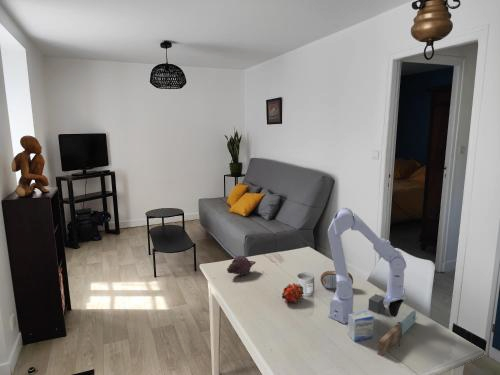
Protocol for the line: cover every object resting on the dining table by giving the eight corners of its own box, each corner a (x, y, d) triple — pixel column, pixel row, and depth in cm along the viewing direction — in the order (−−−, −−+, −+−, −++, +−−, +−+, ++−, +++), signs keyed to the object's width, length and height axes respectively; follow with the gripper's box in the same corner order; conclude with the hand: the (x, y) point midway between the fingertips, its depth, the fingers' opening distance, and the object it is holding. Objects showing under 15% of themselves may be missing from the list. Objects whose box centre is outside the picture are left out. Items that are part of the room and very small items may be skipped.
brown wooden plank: (382, 356, 115) (382, 342, 114) (377, 354, 117) (378, 340, 116) (402, 336, 126) (403, 323, 125) (397, 334, 127) (398, 321, 126)
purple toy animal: (232, 282, 171) (232, 263, 169) (221, 276, 179) (220, 258, 177) (259, 272, 182) (259, 254, 180) (248, 267, 190) (247, 249, 188)
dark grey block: (377, 313, 141) (377, 302, 140) (368, 310, 144) (368, 299, 143) (384, 308, 145) (384, 297, 144) (375, 304, 148) (375, 294, 147)
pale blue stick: (404, 336, 126) (405, 324, 125) (399, 333, 127) (400, 322, 126) (418, 322, 134) (418, 312, 133) (412, 320, 135) (413, 310, 134)
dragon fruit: (305, 300, 156) (284, 312, 150) (293, 285, 160) (273, 296, 154) (311, 291, 150) (290, 303, 144) (299, 275, 154) (278, 286, 148)
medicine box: (353, 342, 123) (354, 320, 122) (347, 334, 128) (348, 313, 126) (373, 338, 125) (374, 316, 124) (365, 331, 130) (366, 310, 128)
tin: (352, 287, 164) (352, 270, 163) (353, 290, 161) (354, 273, 159) (320, 286, 166) (320, 270, 164) (320, 289, 162) (321, 272, 161)
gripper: (397, 293, 125) (395, 327, 127) (413, 280, 135) (411, 312, 137) (378, 287, 130) (377, 319, 132) (395, 275, 140) (394, 305, 142)
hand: (393, 315), depth 135 cm, fingers closed
